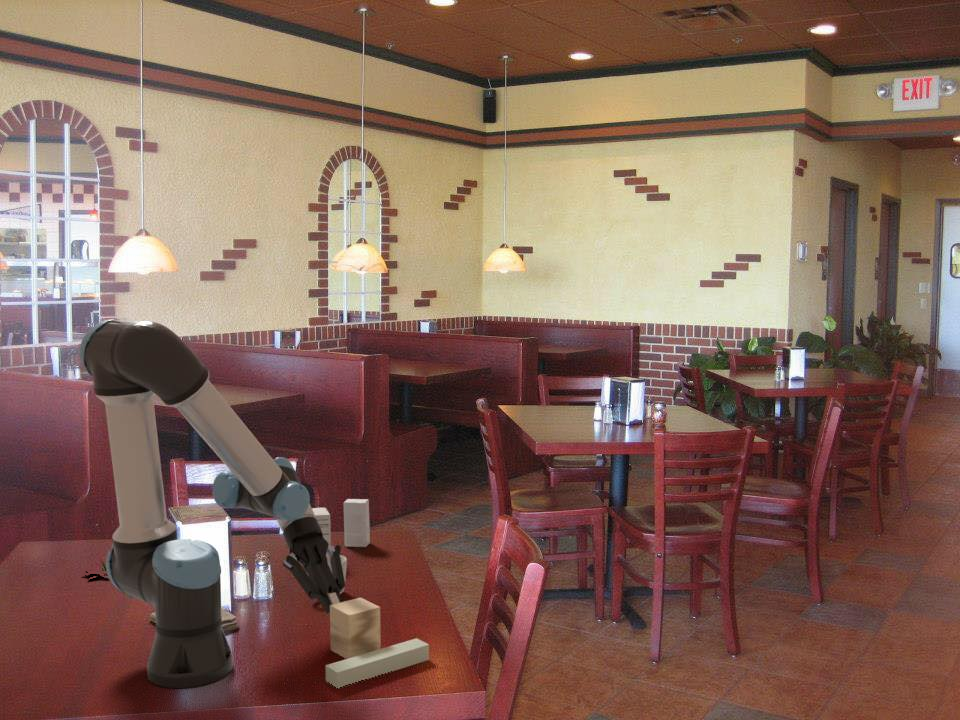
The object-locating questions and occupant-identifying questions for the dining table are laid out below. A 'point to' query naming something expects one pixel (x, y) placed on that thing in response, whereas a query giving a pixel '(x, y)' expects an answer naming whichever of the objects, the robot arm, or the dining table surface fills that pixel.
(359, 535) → the skincare box
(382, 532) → the dining table surface
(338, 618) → the block
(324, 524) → the supplement box
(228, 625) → the washcloth
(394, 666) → the pale grey bar
